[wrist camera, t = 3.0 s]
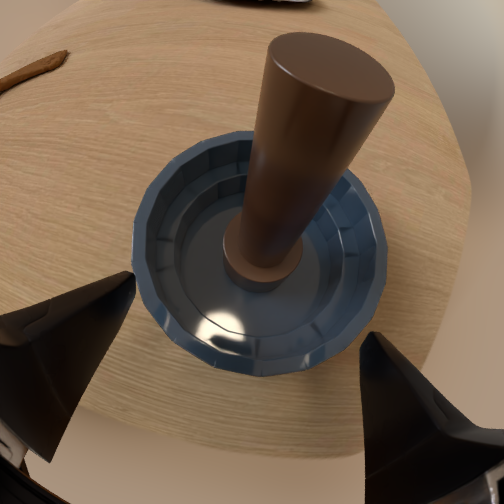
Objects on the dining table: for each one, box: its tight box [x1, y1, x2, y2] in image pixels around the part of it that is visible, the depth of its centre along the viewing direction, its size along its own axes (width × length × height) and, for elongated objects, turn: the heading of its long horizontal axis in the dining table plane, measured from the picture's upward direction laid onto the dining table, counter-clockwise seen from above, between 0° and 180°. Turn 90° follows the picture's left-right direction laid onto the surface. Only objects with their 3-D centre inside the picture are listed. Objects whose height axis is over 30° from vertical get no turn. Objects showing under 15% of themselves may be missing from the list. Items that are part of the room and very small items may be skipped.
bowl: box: [131, 131, 388, 377], centre depth 16 cm, size 14×14×5 cm
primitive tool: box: [0, 50, 67, 92], centre depth 22 cm, size 19×6×4 cm, turn 105°
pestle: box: [223, 32, 395, 292], centre depth 11 cm, size 4×4×14 cm
